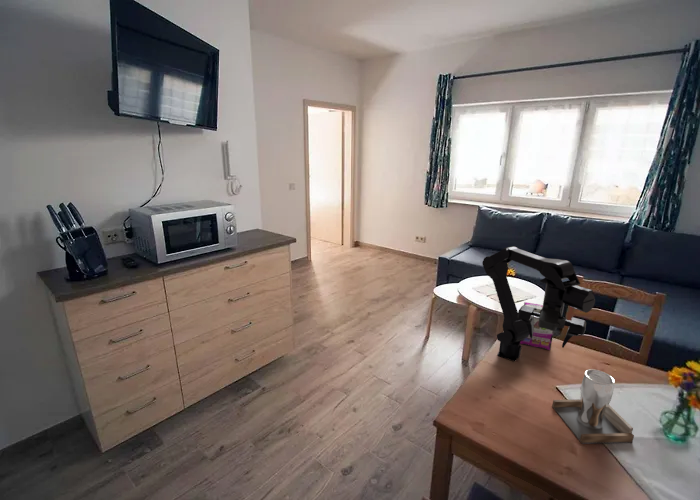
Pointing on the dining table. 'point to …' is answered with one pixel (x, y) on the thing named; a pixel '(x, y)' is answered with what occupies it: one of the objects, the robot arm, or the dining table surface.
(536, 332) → the candy bar box
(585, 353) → the dining table surface
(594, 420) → the silver metal cup
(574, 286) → the robot arm
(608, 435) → the wooden tray
